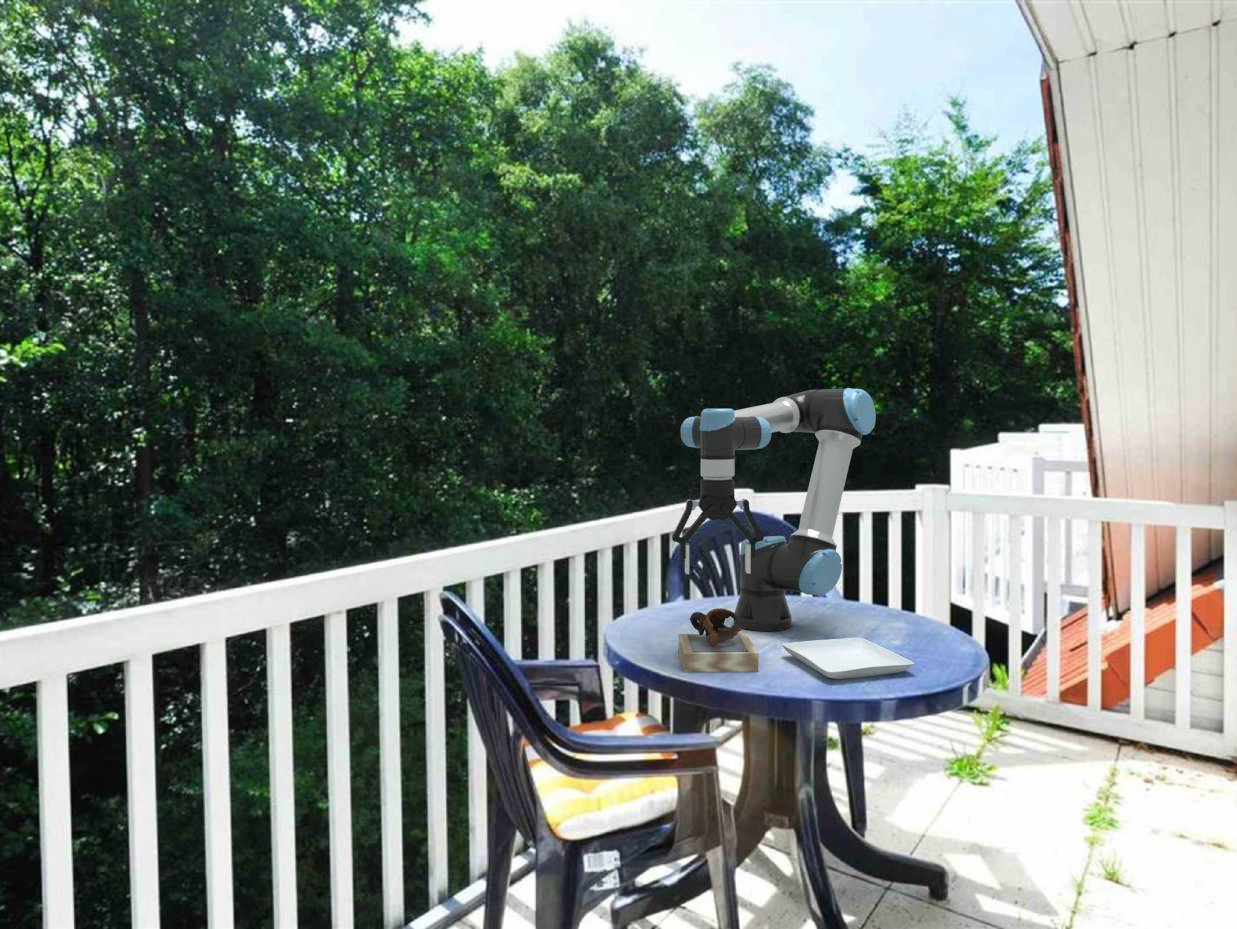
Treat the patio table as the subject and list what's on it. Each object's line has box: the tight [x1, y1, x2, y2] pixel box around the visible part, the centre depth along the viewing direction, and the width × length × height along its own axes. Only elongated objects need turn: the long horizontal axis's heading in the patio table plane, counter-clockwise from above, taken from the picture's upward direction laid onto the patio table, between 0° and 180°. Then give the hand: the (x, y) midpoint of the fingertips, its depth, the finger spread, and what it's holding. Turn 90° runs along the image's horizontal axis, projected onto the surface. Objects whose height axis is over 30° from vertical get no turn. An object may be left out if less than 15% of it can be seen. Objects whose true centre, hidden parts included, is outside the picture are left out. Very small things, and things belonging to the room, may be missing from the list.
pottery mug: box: [689, 607, 742, 646], centre depth 188 cm, size 12×10×8 cm
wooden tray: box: [677, 633, 760, 673], centre depth 187 cm, size 16×16×4 cm
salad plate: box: [781, 637, 915, 680], centre depth 183 cm, size 21×21×3 cm
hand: (717, 572), depth 186 cm, fingers open, 13 cm apart
